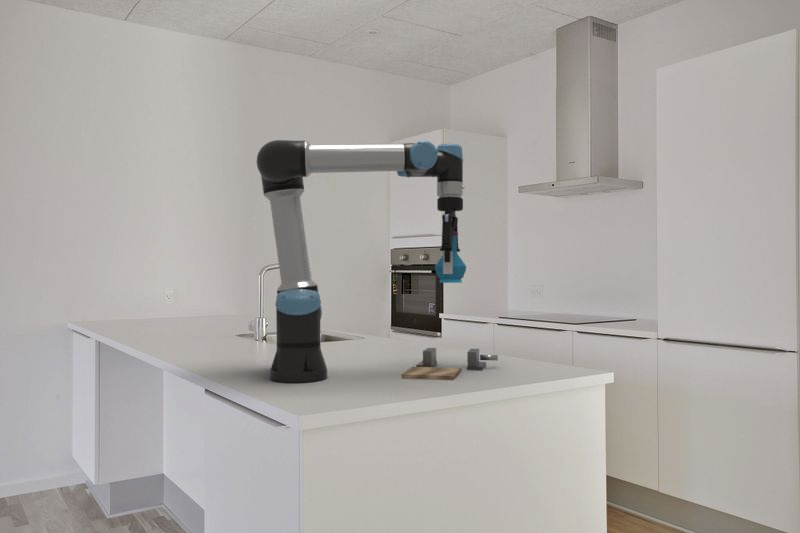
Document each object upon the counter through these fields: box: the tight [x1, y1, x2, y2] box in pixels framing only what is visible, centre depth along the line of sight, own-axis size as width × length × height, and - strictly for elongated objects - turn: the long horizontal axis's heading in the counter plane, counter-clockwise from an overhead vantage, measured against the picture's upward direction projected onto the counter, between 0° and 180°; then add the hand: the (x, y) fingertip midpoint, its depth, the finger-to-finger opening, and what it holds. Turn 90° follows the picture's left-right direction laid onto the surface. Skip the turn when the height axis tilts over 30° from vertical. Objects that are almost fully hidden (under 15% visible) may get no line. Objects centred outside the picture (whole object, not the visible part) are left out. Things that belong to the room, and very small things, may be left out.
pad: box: [401, 366, 462, 381], centre depth 183 cm, size 14×14×1 cm
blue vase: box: [434, 231, 467, 284], centre depth 197 cm, size 9×9×15 cm
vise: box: [415, 347, 499, 371], centre depth 196 cm, size 23×10×5 cm, turn 77°
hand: (450, 273), depth 197 cm, fingers closed on blue vase, 9 cm apart
